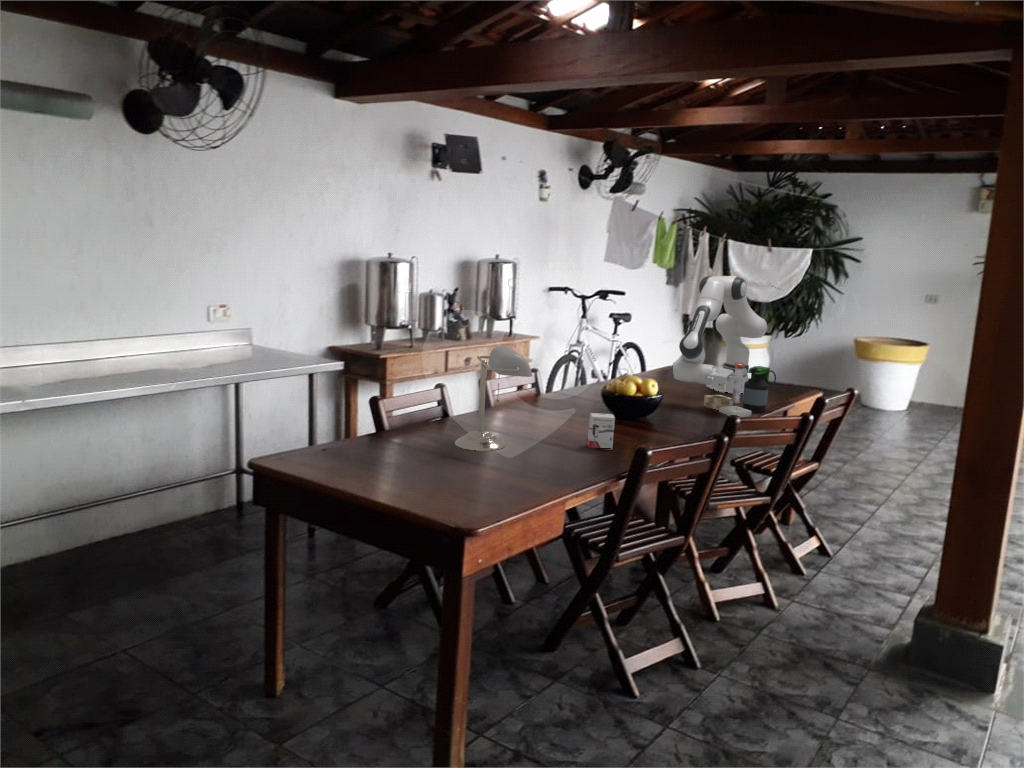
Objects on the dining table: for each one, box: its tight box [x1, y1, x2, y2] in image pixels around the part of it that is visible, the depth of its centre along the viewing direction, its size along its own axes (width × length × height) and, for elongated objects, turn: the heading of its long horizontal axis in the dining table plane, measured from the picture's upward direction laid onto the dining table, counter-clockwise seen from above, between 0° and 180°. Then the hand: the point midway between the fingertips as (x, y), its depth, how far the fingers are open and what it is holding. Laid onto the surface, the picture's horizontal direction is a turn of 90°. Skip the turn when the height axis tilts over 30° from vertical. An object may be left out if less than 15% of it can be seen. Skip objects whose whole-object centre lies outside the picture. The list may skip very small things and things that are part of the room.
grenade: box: [741, 365, 777, 414], centre depth 361 cm, size 11×13×20 cm
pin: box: [731, 363, 746, 404], centre depth 348 cm, size 5×5×17 cm
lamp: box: [454, 345, 533, 452], centre depth 278 cm, size 26×24×34 cm
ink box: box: [586, 412, 616, 450], centre depth 284 cm, size 9×5×12 cm, turn 90°
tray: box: [718, 405, 752, 418], centre depth 351 cm, size 10×10×2 cm
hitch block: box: [703, 394, 734, 411], centre depth 363 cm, size 9×9×5 cm
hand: (740, 378), depth 348 cm, fingers closed on pin, 4 cm apart
